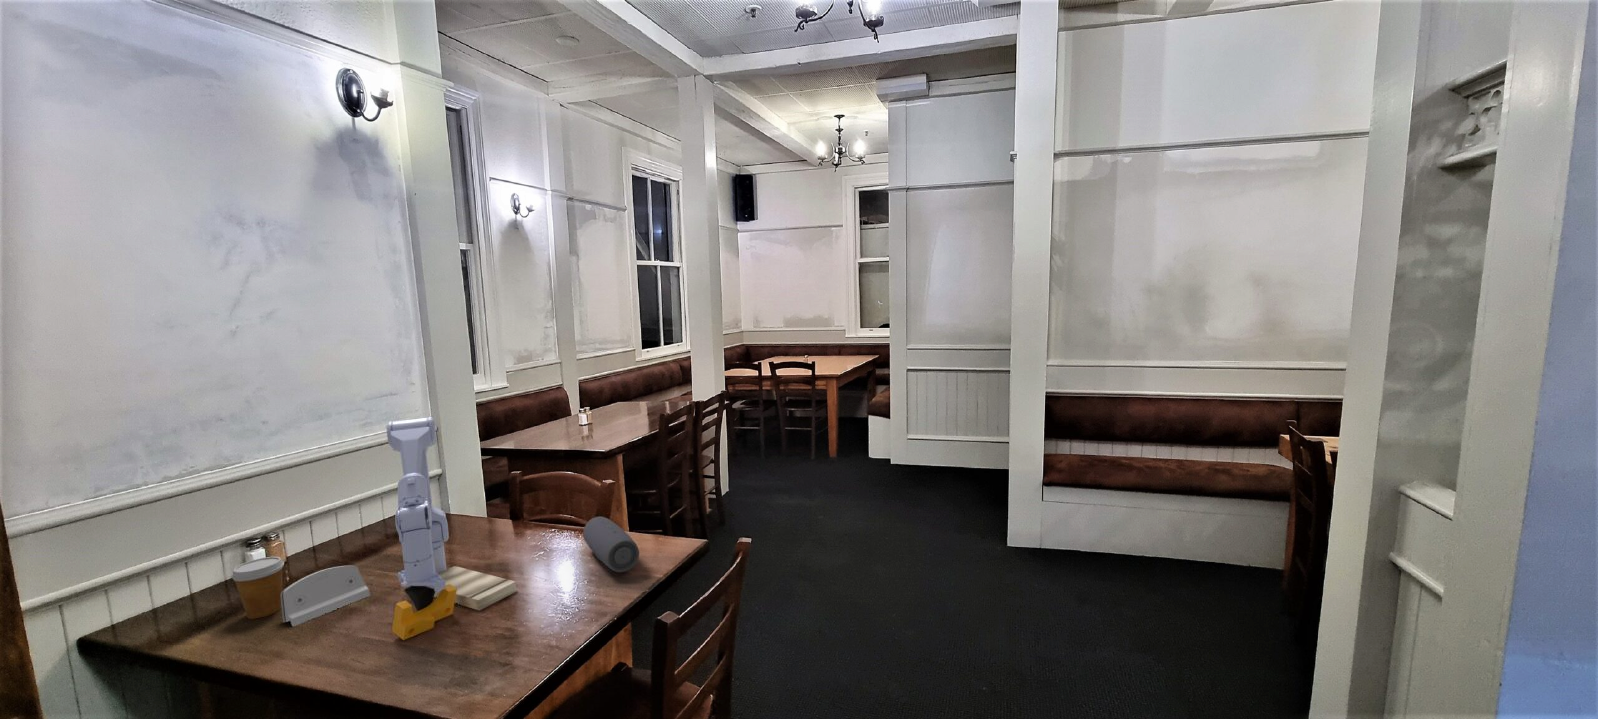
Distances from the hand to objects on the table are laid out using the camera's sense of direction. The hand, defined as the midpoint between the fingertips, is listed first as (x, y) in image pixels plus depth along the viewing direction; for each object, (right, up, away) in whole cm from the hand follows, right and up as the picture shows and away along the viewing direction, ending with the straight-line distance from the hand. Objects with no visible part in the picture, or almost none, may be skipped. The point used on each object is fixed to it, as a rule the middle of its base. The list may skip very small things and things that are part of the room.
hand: (425, 615), depth 139 cm
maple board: (+2, 0, +14) cm, 14 cm away
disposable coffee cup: (-44, -3, +9) cm, 45 cm away
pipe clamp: (+1, -1, -2) cm, 3 cm away
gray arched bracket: (-30, -2, +10) cm, 31 cm away
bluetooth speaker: (+34, +3, +27) cm, 44 cm away
